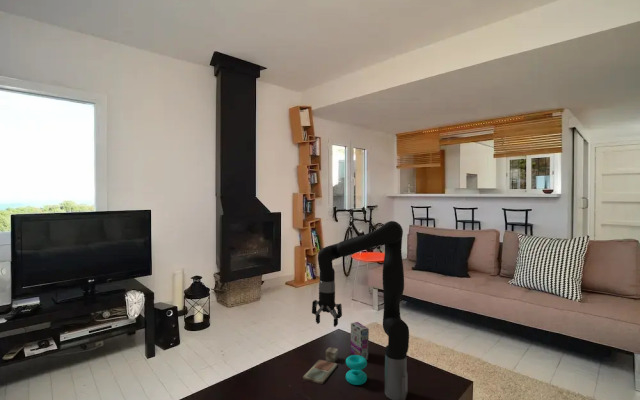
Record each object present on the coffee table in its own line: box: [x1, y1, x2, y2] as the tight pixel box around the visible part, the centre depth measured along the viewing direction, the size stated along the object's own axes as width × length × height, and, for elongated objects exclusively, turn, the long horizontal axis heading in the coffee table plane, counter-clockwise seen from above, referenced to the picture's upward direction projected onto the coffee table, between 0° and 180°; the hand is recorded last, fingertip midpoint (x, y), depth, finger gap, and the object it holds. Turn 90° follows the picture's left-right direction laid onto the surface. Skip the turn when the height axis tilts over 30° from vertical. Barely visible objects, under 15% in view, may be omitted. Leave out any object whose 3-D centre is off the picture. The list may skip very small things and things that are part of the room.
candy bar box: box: [350, 321, 370, 360], centre depth 173 cm, size 11×5×16 cm, turn 25°
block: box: [325, 346, 339, 363], centre depth 169 cm, size 5×5×5 cm
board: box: [302, 359, 338, 385], centre depth 156 cm, size 10×18×1 cm, turn 155°
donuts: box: [345, 354, 368, 386], centre depth 149 cm, size 10×10×10 cm
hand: (326, 324), depth 148 cm, fingers open, 8 cm apart
